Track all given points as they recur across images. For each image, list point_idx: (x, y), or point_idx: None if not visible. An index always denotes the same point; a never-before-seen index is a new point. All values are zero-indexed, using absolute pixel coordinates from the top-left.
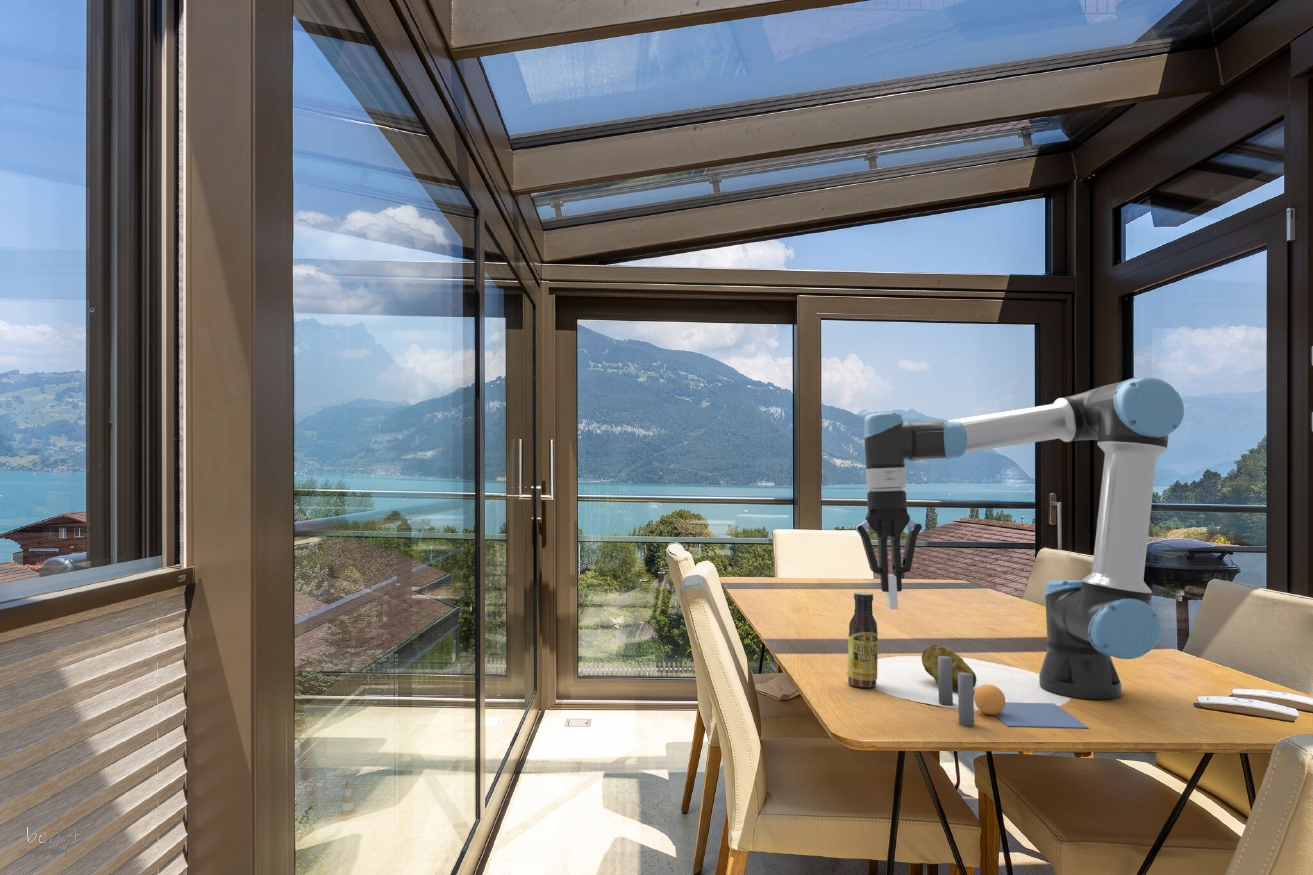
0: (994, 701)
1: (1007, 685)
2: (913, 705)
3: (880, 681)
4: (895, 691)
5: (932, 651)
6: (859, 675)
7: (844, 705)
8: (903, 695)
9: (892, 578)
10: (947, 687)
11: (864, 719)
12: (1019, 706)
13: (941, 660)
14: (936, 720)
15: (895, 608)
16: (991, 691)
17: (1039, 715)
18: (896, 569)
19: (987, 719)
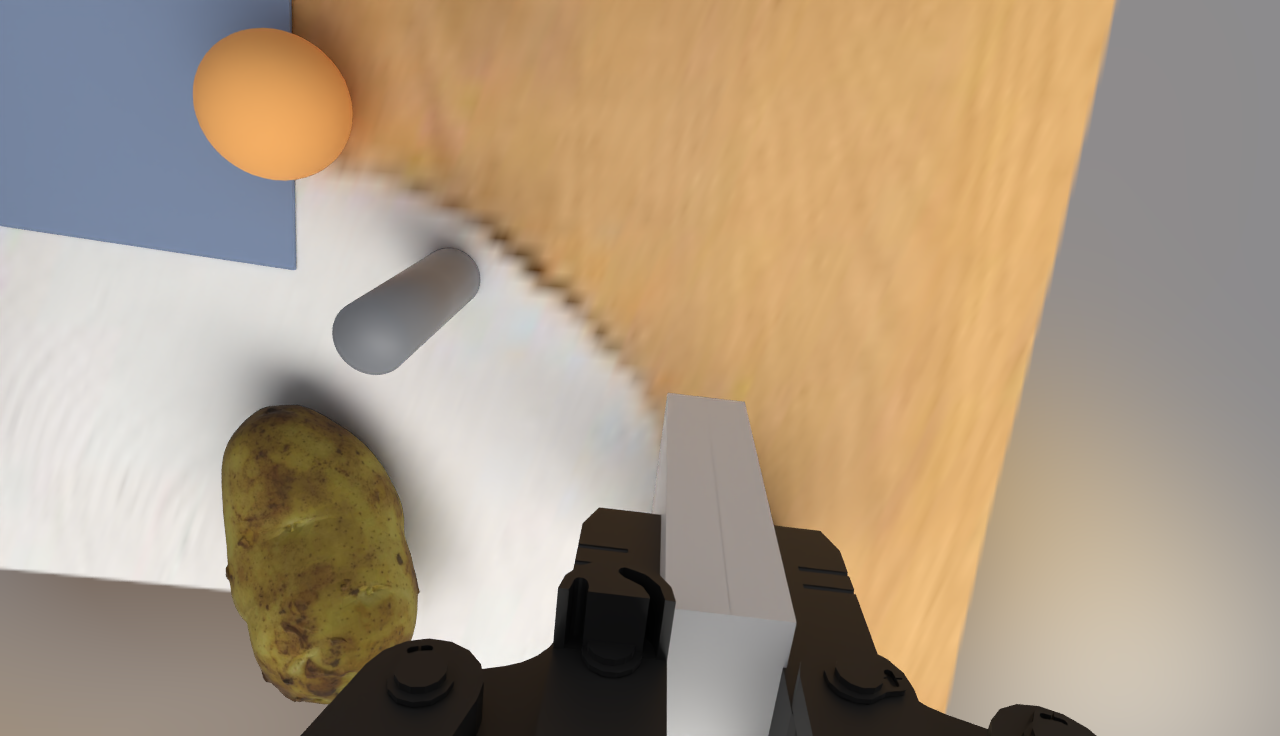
0: (269, 29)
1: (107, 491)
2: (608, 256)
3: None
4: (611, 455)
5: (351, 629)
6: None
7: (927, 280)
8: (598, 398)
9: (728, 592)
10: (426, 264)
11: (923, 65)
12: (146, 190)
13: (402, 310)
14: (587, 28)
15: (692, 397)
16: (251, 54)
17: (98, 55)
18: (645, 704)
19: (347, 29)
